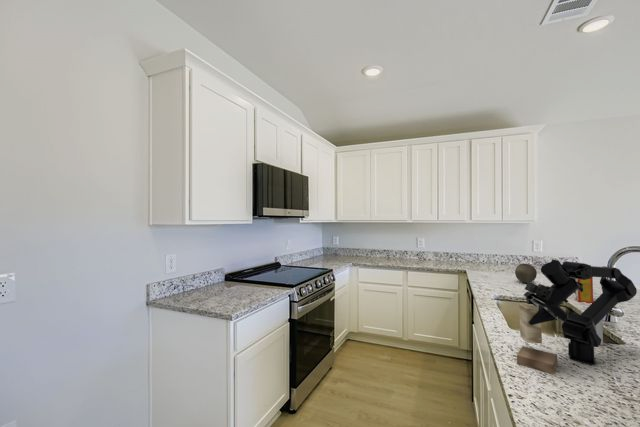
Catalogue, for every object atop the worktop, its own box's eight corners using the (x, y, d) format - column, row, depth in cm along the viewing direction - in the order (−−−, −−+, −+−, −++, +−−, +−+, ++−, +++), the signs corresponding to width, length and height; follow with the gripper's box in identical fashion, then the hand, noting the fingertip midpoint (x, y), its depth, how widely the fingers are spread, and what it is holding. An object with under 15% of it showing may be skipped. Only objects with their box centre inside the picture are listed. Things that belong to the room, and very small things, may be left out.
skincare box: (603, 342, 118) (602, 312, 119) (603, 346, 115) (602, 315, 115) (582, 338, 123) (581, 309, 123) (582, 341, 119) (581, 311, 120)
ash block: (534, 337, 107) (532, 304, 108) (542, 343, 102) (540, 308, 102) (520, 336, 108) (519, 303, 109) (527, 342, 103) (526, 308, 103)
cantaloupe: (511, 281, 234) (511, 262, 234) (530, 281, 232) (530, 262, 232) (521, 285, 220) (520, 265, 220) (541, 285, 218) (541, 265, 218)
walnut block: (557, 364, 102) (557, 354, 102) (553, 375, 95) (553, 364, 95) (522, 355, 109) (522, 346, 109) (517, 365, 102) (516, 355, 102)
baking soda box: (593, 303, 171) (592, 276, 172) (578, 302, 175) (577, 275, 175) (589, 300, 179) (589, 273, 179) (575, 298, 183) (575, 272, 183)
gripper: (528, 270, 114) (498, 297, 116) (555, 280, 96) (519, 312, 98) (552, 291, 112) (521, 319, 114) (585, 305, 94) (547, 337, 96)
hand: (525, 321), depth 106 cm, fingers closed on ash block, 5 cm apart
